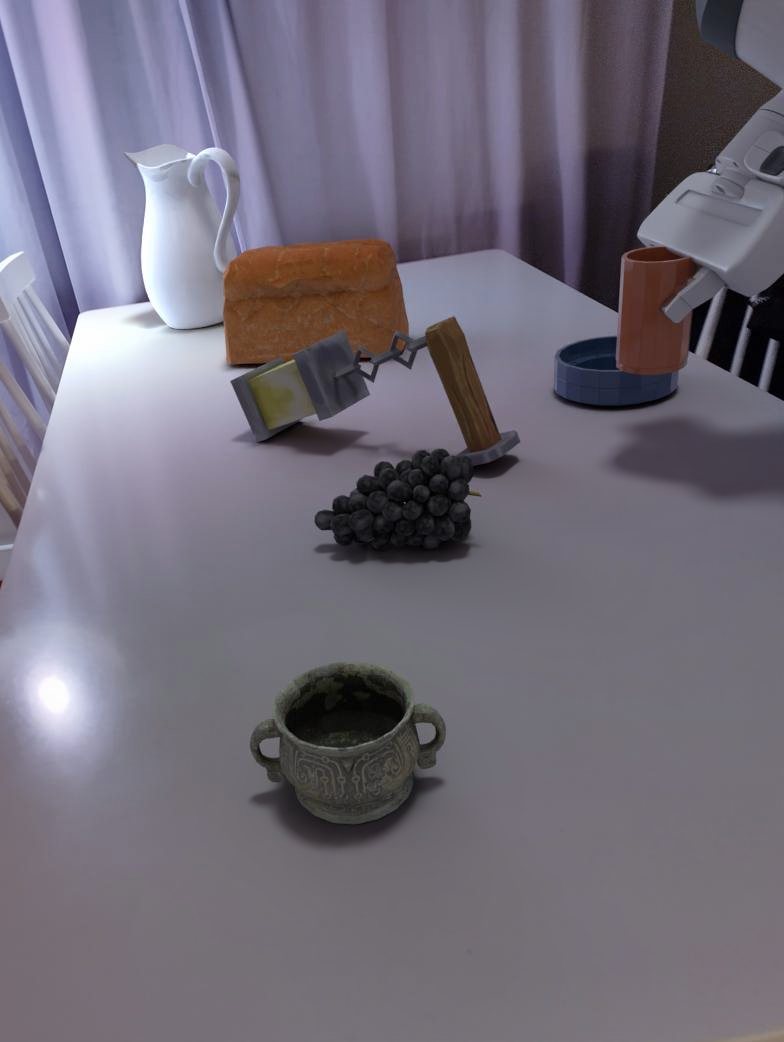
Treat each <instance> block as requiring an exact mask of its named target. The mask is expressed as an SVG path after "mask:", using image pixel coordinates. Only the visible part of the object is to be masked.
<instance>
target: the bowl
mask: <svg viewBox="0 0 784 1042" xmlns="http://www.w3.org/2000/svg"><path fill="white" fill-rule="evenodd" d="M616 345H617V335H607V336H606V335H605V336H596V337H590V338H586V339H580V340H577V341H574V342H571V343H569V344H565V345H564V346H562V347H561V348H559V349H558V350H556V353H555V355H554V361H553V363H554V366H553V389H554V390H555V393H556V394H557V395H559V396H560V397H562V398H564V399H565V400H569V401H572V402H576V403H581V404H583V405H584V404H585V405H590V406H598V407H623V406H632V405H633V406H634V405H638V404H639V405H640V404H643V403H647V402H651V401H655V400H658V399H662V398H663V397H667V396H668V395H671V394H672V393H673V392H674V391H675V390H677V388H678V385H679V375H680V370H678V371H675V372H671V373H666V374H658V375H639V374H632V373H627V372H624V371H621V370H619V369H618V368H617V366H616Z"/></svg>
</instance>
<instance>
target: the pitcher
mask: <svg viewBox="0 0 784 1042" xmlns="http://www.w3.org/2000/svg"><path fill="white" fill-rule="evenodd" d="M123 155H124V156H125V158H126V159H127V160H128V161H129V162H130V163H131V165H132V166H133V167H134V168H135V169H136V171H137V172H138V174H139V176H140V178H141V181H142V184H143V188H144V189H143V191H144V208H143V214H142V222H141V228H140V229H141V230H140V236H139V248H138V249H139V250H138V251H139V253H138V254H139V255H138V256H139V269H140V276H141V280H142V284H143V287H144V290H145V293H146V296H147V298H148V300H149V302H150V303H151V305H152V306H153V308H154V310H155V312H156V313H157V314H158V316H159V317H160V318H161V320H162V321H163V322H164V323H165V324H166V325H167V326H168V327H170V328H172V329H174V330H175V329H176V330H190V329H193V330H194V329H200V328H205V327H210V326H214V325H218V324H220V323H224V321H223V307H224V299H225V297H224V296H223V283H224V281H223V273H224V271H225V270H226V268H227V266H228V265H229V263H230V262H231V261H233V260H234V259H235V258H237V257H238V256H239V255H238V253H237V249H236V245H235V242H234V239H233V237H232V233H231V232H230V230H231V226H232V223H233V220H234V218H235V215H236V212H237V209H238V205H239V201H240V196H241V178H240V172H239V170H238V167H237V165H236V162H235V160H234V159H233V158H232V156H231V155H230V153H228V152H227V151H226V150H224V149H223V148H220V147H208V148H206V149H203V150H201V151H200V152H199V153H198V154H197V155H195V154H193V153H191V152H189V151H187V150H185V149H183V148H181V147H179V146H177V145H175V144H171V143H163V144H159V145H155V146H153V147H150V148H147V149H144V150H141V151H137V152H127V151H123ZM211 160H212V161H214V162H215V163H217V165H218V166H219V167H220V169H221V171H222V173H223V175H224V178H225V183H226V202H225V207H224V211H223V215H222V213H221V211H220V210H219V208H218V206H217V204H216V202H215V200H214V198H213V196H212V194H211V192H210V189H209V186H208V184H207V179H206V175H205V170H206V167H207V165H208V164H209V162H210V161H211Z"/></svg>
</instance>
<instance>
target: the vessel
mask: <svg viewBox="0 0 784 1042" xmlns="http://www.w3.org/2000/svg"><path fill="white" fill-rule="evenodd" d="M415 701H416V700H415V691H414V690H413V688H412V686H411V685H410V683H409V682H408V680H406V679H405V678H404V677H403V676H401V674H398V673H396V672H395V671H393V670H391V669H390V668H387V667H386V666H382V665H379V664H374V663H372V662H371V663H370V662H361V661H337V662H331V663H327V664H324V665H320V666H316V667H313V668H311V669H308V670H307V671H305V672H303V673H301V674H299V675H296V676H295V677H294V678H293V679H292V680H290V681H289V682H288V683H287V684H286V685H284V686H283V687H282V688H281V689H280V690H279V692H278V694H276V696H275V698H274V700H273V703H272V706H271V715H272V718H266V719H264V720H263V721H261V722H260V723H259V724H257V725H256V726H255V727H254V729H253V731H252V734H251V736H250V741H249V749H250V752H251V755H252V757H253V759H254V760H255V762H256V763H257V764H258V765H259V766H261V767H262V768H265V770H266V776H267V779H268V780H270V782H272V783H283V782H284V780H285V779H286V780H287V781H288V782H289V783H290V784H291V786H293V787H294V792H295V795H296V798H297V800H298V802H299V803H300V805H301V806H302V807H304V808H305V810H307V811H309V813H311V814H312V815H313V816H315V817H317V818H319V819H322V820H324V821H327V822H329V823H332V824H343V825H354V826H355V825H360V824H365V823H368V822H373V821H376V820H379V819H382V818H383V817H385V816H387V815H389V814H391V813H392V812H395V811H397V810H398V808H400V806H402V805H403V803H404V802H405V801H406V800H407V799H408V798H409V796H410V795H411V792H412V790H413V786H414V775H413V771H414V769H415V768H416V765H417V766H418V767H419V769H421V770H428V769H431V768H433V767H434V766H436V765H437V752H438V751H440V749H441V748H442V747H443V745H444V743H445V741H446V736H447V725H446V723H445V721H444V718H443V717H442V715H441V714H440V713H439V711H438V709H436V708H434V707H433V706H431V705H429V704H426V703H423V702H422V703H417V704H416V702H415ZM423 723H424V724H431V725H432V726H433V727H434V728H435V734H434V738H433V739H432V740H431V741H429V742H426V743H421V742H420V737H419V733H418V728H417V725H416V724H423ZM274 738H279V743H278V744H279V745H278V746H279V747H278V754H279V755H278V756H277V757H270V756H267V755H265V754H263V753H262V750H261V747H260V744H261V743H262V742H263V741H264V740H267V739H274Z"/></svg>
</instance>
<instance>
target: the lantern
mask: <svg viewBox="0 0 784 1042" xmlns="http://www.w3.org/2000/svg"><path fill="white" fill-rule="evenodd" d="M398 338H400V339H402V340H404V341H405V342H406V346H405V350H406V351H408V352H410V355H409V357H408V360H405V359H403V358H402V357H401V353H402V351H401V350H399V349H398V348H396V345H397V342H398ZM426 347H427V351H428V353H429V355H430V358H431V360H432V362H433V365H434V367H435V370H436V372H437V374H438V377H439V380H440V382H441V384H442V387H443V389H444V392H445V394H446V397H447V399H448V401H449V404H450V407H451V409H452V412H453V414H454V417H455V420H456V422H457V425H458V427H459V430H460V431H461V435H462V437H463V439H464V443H465V446H466V448H464V449H463V450H461V452H459V453H458V454H456V455H455V456H456V457H458V456H460V455H466V456H467V457H469V458H470V459H472V464H473V467H474V466H479V465H484V464H489V463H491V462H493V461H495V460H498V459H499V458H502V457H503V456H505V455H506V454H507V453H508V452H510V451H511V450H512V449H514V448H515V447H516V446H518V445H519V444H520V443H521V438H520V436H519V433H518V431H517V430H514V429H513V430H508V431H504V432H500V431H499V428H498V426H497V422H496V420H495V417H494V414H493V412H492V409H491V407H490V403H489V402H488V398H487V396H486V392H485V390H484V387H483V385H482V382H481V380H480V377H479V374H478V371H477V369H476V366H475V362H474V361H473V357H472V354H471V351H470V347H469V345H468V342H467V338H466V335H465V333H464V331H463V329H462V328H461V325H460V324H459V322H458V320H457V318H456V316H455V315H453V316H450V317H447V318H446V319H443V320H441V321H438V322H435V323H434V324H432V325H430V326H428V327H426V330H425V332H424V336H423V335H422V336H421V337H419V338H417V339H413V338H411V337H410V336H409V337H408V336H406V335H404V334H403V333H401V332H399V331H398V330H395V333H394V336H393V340H392V343H391V346H390V349H389V350H387V351H385V352H382V353H380V354H378V355H376V354H374V353H372V352H371V351H369V350H367V349H366V348H364V347H362V346H361V345H358V348H357V352H356V355H354V352H353V350H352V347H351V344H350V342H349V339H348V337H347V334H346V332H345V330H344V331H342V332H339V333H337V334H335V335H332V336H330V337H328V338H326V339H324V340H322V341H320V342H318V343H316V344H314V345H312V346H310V347H308V348H305V349H303V350H301V351H299V352H297V353H295V354H293V355H292V356H293V358H294V360H291V361H289V362H283V360H282V358H281V357H280V358H278V359H275V360H273V361H271V362H268V363H263V364H262V365H260V366H258V367H256V368H253V369H252V370H250V371H247V372H245V373H244V374H241V375H240V376H237V377H236V378H235V377H234V378H233V379H231V380H230V381H229V382H230V384H231V387H232V389H233V391H234V394H235V395H236V398H237V400H238V402H239V405H240V407H241V409H242V411H243V414H244V416H245V418H246V421H247V423H248V425H249V428H250V430H251V432H252V435H253V437H254V439H255V441H256V443H259V442H262V441H265V440H268V439H270V438H271V437H273V436H275V435H277V434H278V433H280V432H282V431H284V430H286V429H287V428H289V427H291V426H292V425H295V424H296V423H298V422H300V421H302V420H304V419H305V418H308V417H310V416H314V415H316V416H317V418H318V421H319V422H322V421H324V420H327V419H331V418H333V417H335V416H336V415H338V414H339V413H341V412H343V411H344V410H346V409H348V408H350V407H351V406H353V405H355V404H357V403H360V401H363V400H364V399H366V398H368V397H369V396H371V393H370V390H369V388H368V386H367V382H366V381H365V379H366V380H368V381H369V382H371V383H373V384H374V383H375V381H376V377H377V374H378V370H379V369H380V368H379V367H380V365H382V364H385V363H386V362H389V361H391V360H393V361H395V362H397V363H399V364H400V365H402V366H403V367H405V368H407V369H409V370H410V371H412V368H413V365H414V363H415V359H416V356H417V353H418V351H420V350H423V349H424V348H426ZM361 353H364V354H365V355H367V356H369V357H370V358H369V359H370V360H369V363H370V364H371V365H373V366H372V370H371V374H370V373H367V372H366V371H364V370H363V369H362V364H359V363H360V360H361V358H360V356H361Z"/></svg>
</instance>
